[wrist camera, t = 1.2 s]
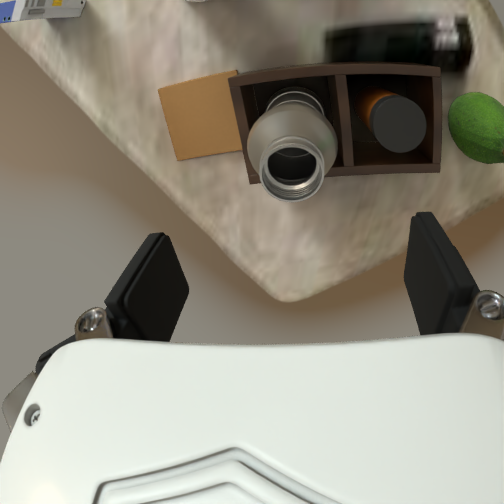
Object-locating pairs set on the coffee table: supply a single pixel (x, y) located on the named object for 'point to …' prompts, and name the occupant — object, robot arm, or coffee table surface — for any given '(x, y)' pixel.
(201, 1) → the water bottle
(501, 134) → the fruit
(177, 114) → the cork mat
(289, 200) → the metal flask
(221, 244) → the coffee table surface
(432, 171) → the brown divided box
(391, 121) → the spice jar
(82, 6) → the walkman
